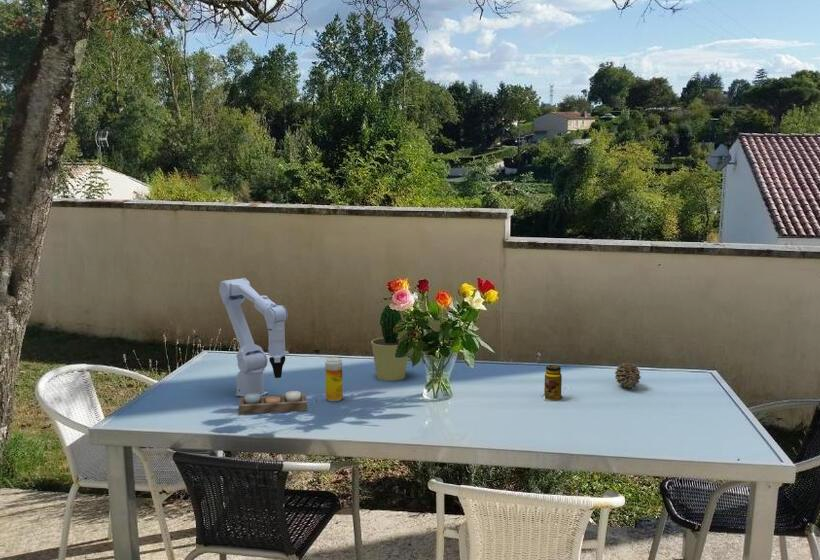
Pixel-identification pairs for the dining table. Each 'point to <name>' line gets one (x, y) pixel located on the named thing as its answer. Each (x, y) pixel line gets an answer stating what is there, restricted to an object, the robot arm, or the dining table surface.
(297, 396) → the cream button
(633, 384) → the pine cone
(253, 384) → the robot arm
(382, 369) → the potted cactus
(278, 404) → the button board
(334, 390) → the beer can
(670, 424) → the dining table surface
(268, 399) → the terracotta button
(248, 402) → the slate button
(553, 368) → the condiment
